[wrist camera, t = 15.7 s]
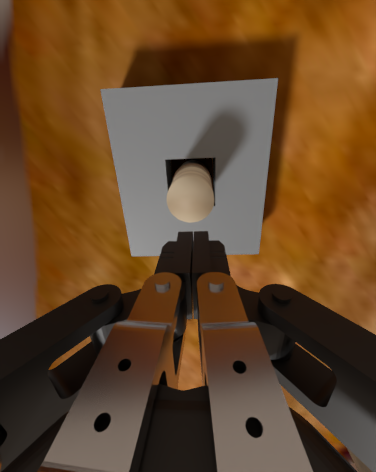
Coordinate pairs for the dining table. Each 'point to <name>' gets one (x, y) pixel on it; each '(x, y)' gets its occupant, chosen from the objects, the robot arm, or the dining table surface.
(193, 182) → the peg
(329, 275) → the dining table surface
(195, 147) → the socket block
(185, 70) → the dining table surface
